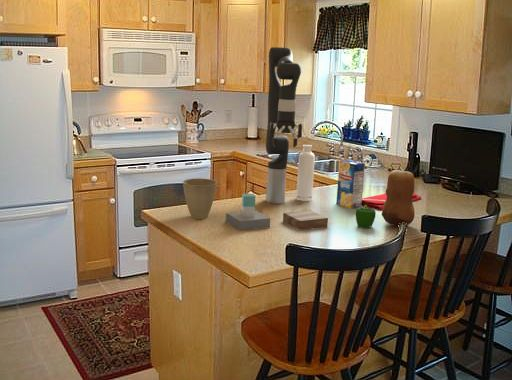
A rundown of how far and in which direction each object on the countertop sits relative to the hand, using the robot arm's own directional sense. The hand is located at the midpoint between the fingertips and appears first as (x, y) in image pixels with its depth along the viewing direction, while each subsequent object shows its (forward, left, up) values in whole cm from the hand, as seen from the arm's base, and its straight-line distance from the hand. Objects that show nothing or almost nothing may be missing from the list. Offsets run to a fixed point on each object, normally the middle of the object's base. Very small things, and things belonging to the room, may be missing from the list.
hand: (284, 146), depth 256 cm
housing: (+6, -20, -28) cm, 35 cm away
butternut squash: (+30, +42, -32) cm, 61 cm away
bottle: (-26, +29, -32) cm, 51 cm away
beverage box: (-8, +44, -32) cm, 55 cm away
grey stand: (+6, -20, -32) cm, 38 cm away
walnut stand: (+14, +4, -32) cm, 35 cm away
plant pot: (-12, -35, -32) cm, 49 cm away
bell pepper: (+26, +27, -32) cm, 50 cm away
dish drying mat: (-7, +69, -33) cm, 77 cm away
